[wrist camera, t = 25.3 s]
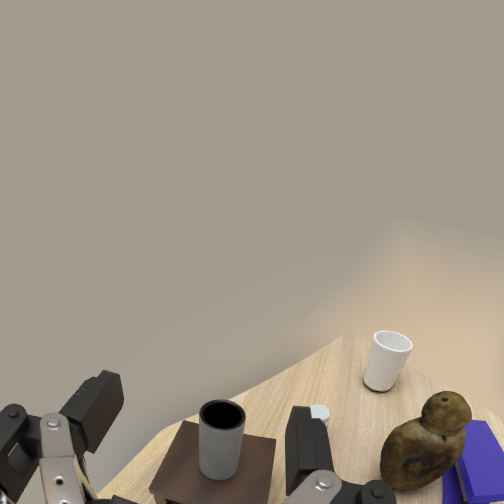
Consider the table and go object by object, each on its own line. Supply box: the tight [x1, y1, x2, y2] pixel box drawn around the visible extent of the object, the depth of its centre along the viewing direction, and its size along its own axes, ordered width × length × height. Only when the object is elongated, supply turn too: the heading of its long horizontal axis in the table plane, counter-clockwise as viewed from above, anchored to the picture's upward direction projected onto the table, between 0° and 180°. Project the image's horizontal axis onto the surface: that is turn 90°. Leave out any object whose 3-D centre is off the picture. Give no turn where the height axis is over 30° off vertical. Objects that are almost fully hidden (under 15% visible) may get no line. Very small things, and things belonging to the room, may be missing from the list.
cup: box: [363, 331, 413, 392], centre depth 59 cm, size 10×10×13 cm
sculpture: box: [380, 391, 472, 490], centre depth 29 cm, size 13×8×20 cm, turn 55°
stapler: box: [443, 420, 504, 504], centre depth 27 cm, size 12×28×10 cm, turn 155°
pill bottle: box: [309, 404, 330, 428], centre depth 42 cm, size 5×5×8 cm
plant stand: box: [149, 420, 276, 504], centre depth 29 cm, size 13×13×10 cm
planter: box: [199, 400, 246, 480], centre depth 26 cm, size 4×4×10 cm
